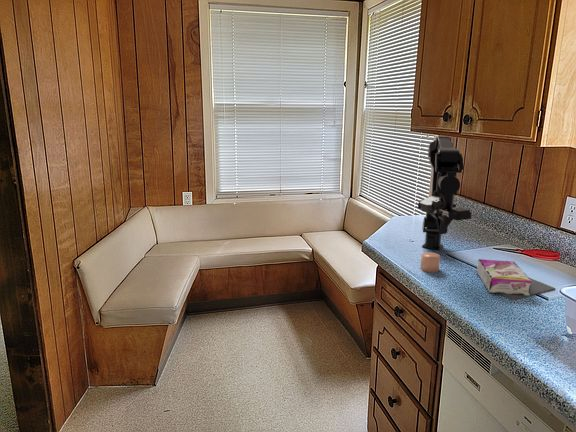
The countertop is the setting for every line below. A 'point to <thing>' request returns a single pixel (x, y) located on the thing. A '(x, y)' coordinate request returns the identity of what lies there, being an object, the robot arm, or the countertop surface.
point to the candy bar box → (503, 277)
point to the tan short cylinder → (430, 262)
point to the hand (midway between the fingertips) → (441, 234)
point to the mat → (531, 290)
